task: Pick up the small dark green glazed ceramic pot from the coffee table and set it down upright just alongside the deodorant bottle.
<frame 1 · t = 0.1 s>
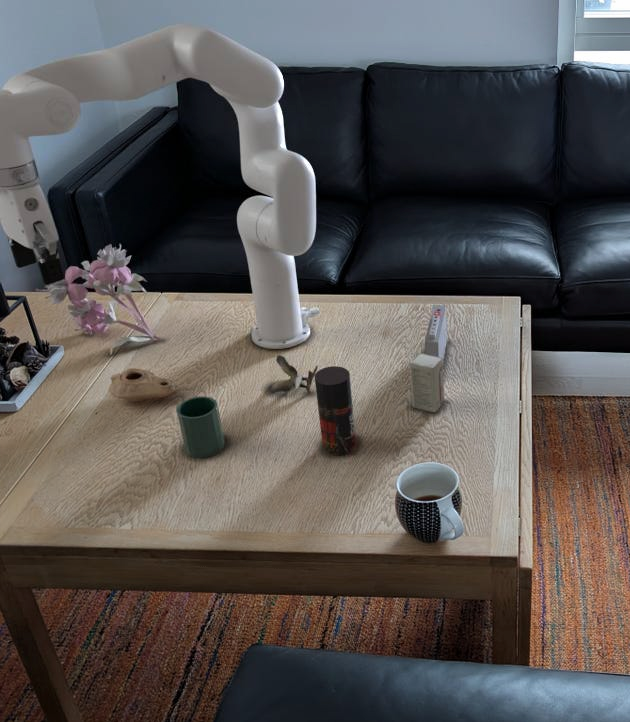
hand: (40, 273, 138), 31 cm above the table, tool pointing down, fingers open, 9 cm apart
flower: (108, 339, 181), on the table
pottery oil lamp: (145, 399, 162), on the table
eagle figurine: (292, 390, 165), on the table
deodorant: (339, 446, 150), on the table
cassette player: (436, 361, 175), on the table
pot: (205, 446, 149), on the table
beige box: (428, 405, 161), on the table
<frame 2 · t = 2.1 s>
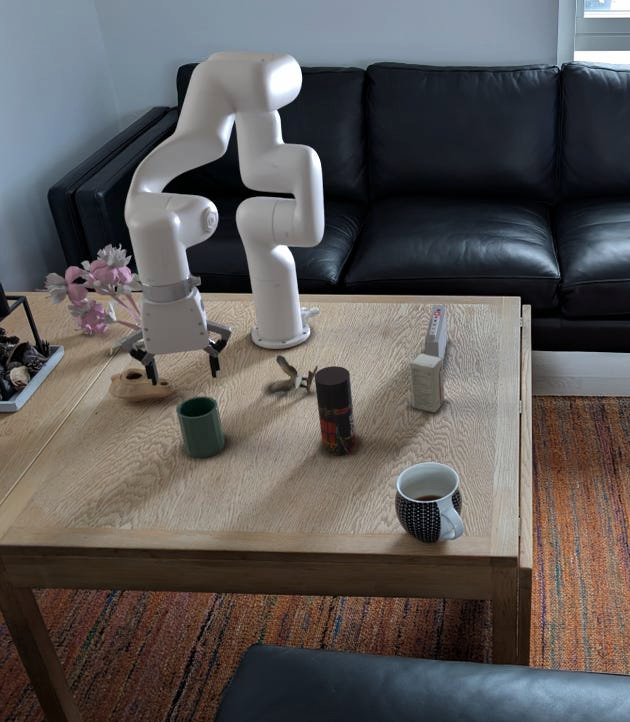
hand: (185, 377, 141), 15 cm above the table, tool pointing down, fingers open, 9 cm apart
nothing on the table moved.
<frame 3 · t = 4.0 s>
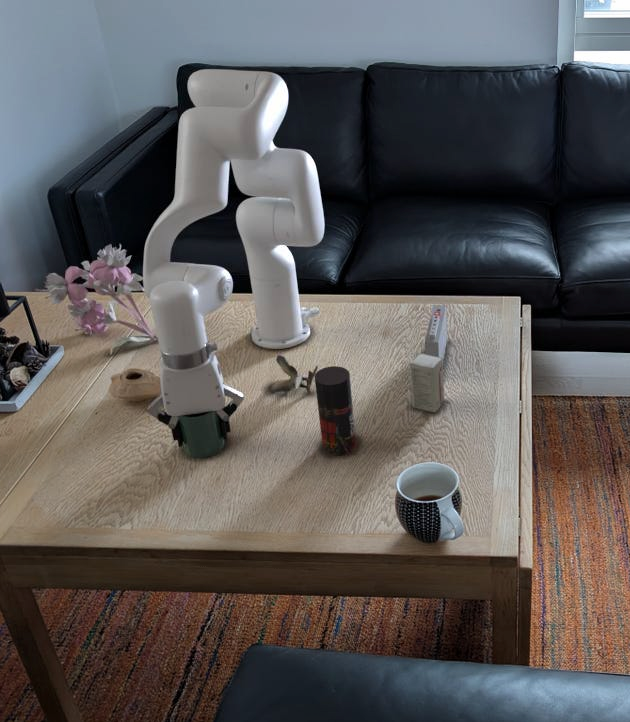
hand: (203, 438, 148), 2 cm above the table, tool pointing down, fingers closed on pot, 7 cm apart
pot: (205, 446, 149), on the table, touching gripper
everything else where it was.
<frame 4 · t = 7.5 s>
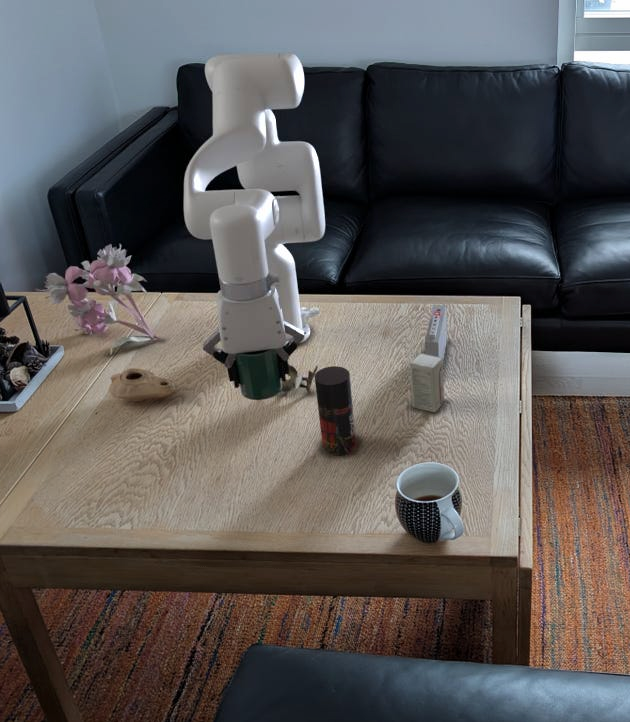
hand: (260, 379, 139), 16 cm above the table, tool pointing down, fingers closed on pot, 7 cm apart
pot: (261, 388, 140), point 14 cm above the table, touching gripper
everything else where it was.
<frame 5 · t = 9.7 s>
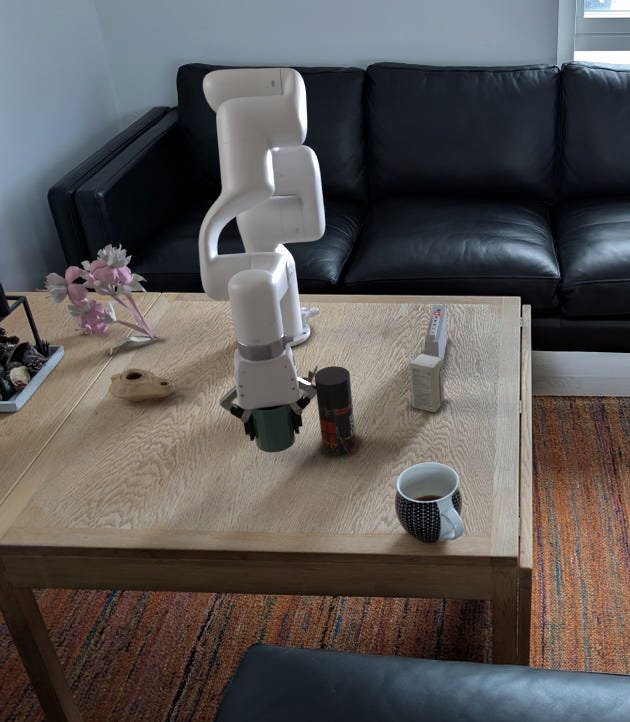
hand: (274, 432, 144), 5 cm above the table, tool pointing down, fingers closed on pot, 7 cm apart
pot: (275, 440, 145), point 3 cm above the table, touching gripper
everything else where it was.
when the fingers open (2 cm above the table, at t = 11.2 s): pot stays where it is, on the table.
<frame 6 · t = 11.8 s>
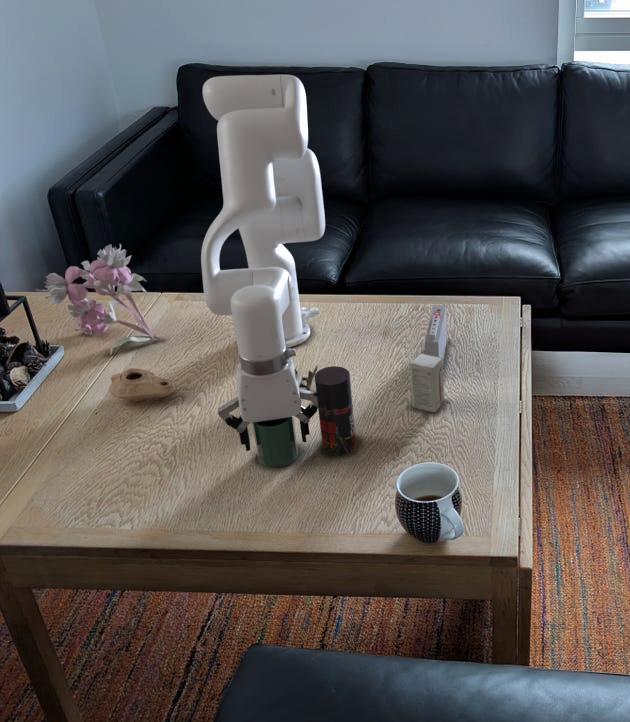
hand: (276, 441, 146), 3 cm above the table, tool pointing down, fingers open, 9 cm apart
pot: (278, 455, 147), on the table
everything else where it was.
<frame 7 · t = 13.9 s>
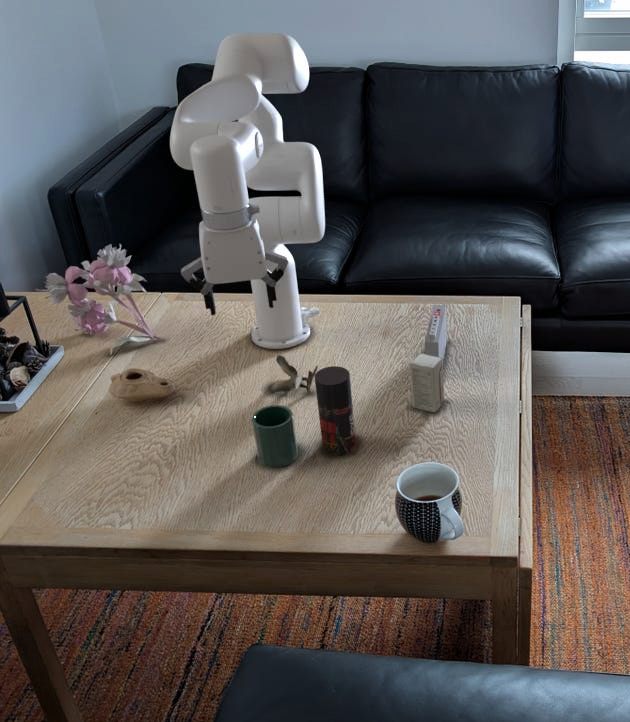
hand: (242, 307, 143), 24 cm above the table, tool pointing down, fingers open, 9 cm apart
nothing on the table moved.
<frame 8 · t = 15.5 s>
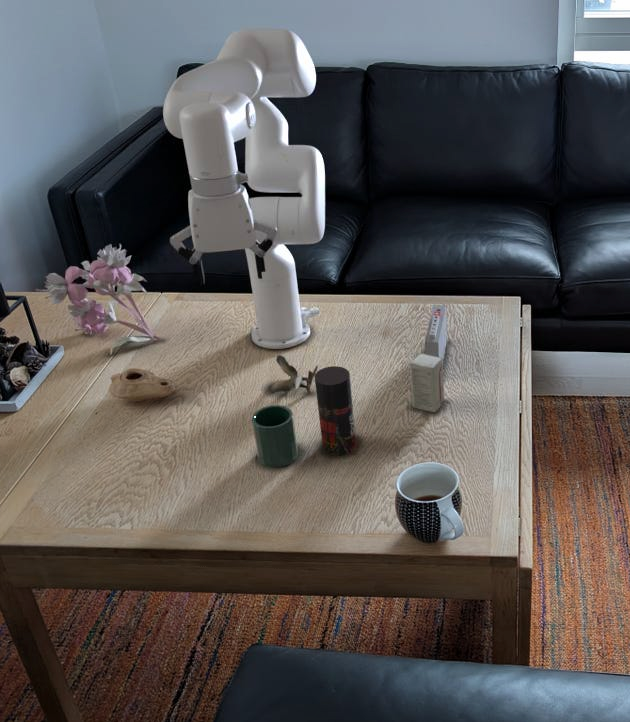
hand: (231, 278, 143), 28 cm above the table, tool pointing down, fingers open, 9 cm apart
nothing on the table moved.
at the end: pot inside the target area on the table beside the deodorant (0.1 cm from its centre), on the table; pot tilted 0°; deodorant tilted 0° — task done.
